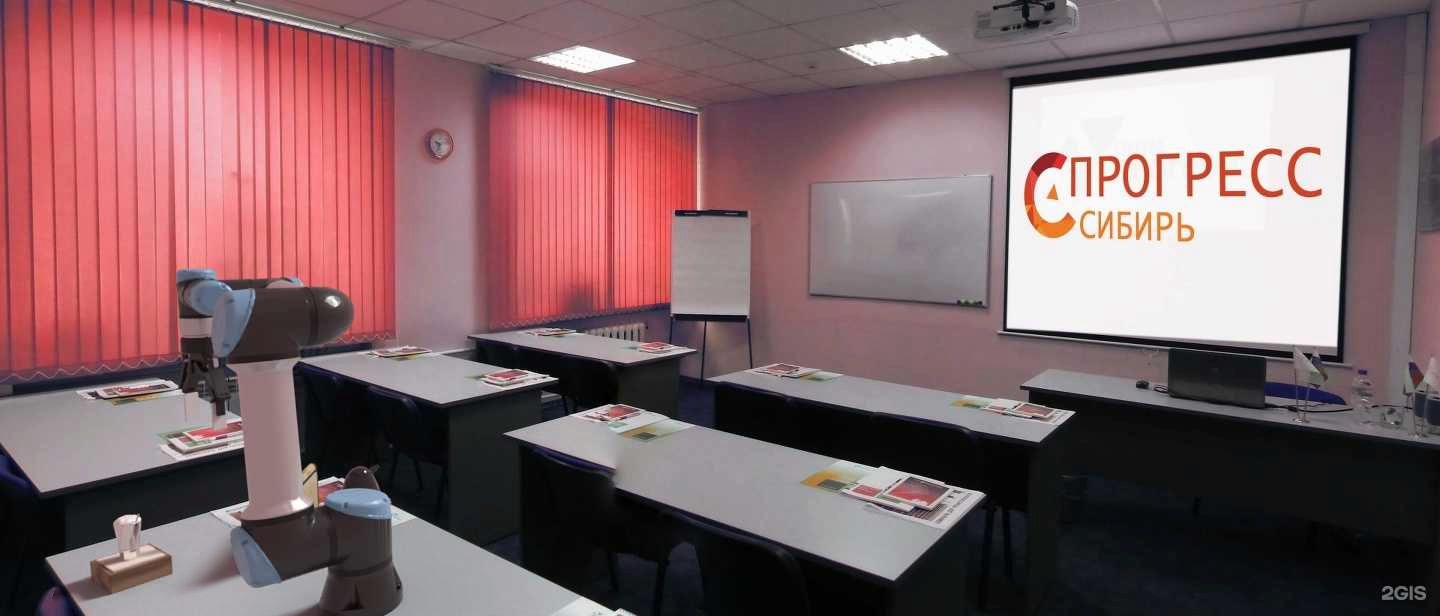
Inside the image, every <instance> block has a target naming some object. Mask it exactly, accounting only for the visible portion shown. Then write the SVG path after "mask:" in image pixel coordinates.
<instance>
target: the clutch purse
mask: <svg viewBox="0 0 1440 616" xmlns="http://www.w3.org/2000/svg"><path fill="white" fill-rule="evenodd" d="M302 481H303V492H304V494H305V495H306V496H308V497H309V498H311V499H313V501H314V508H315V507H319V506H320V496H319V473H318V467H317V465H316V464H315V463H313V462H310V463H308V465H307V466H306V467H305V468H304V469H303V470H302Z"/></svg>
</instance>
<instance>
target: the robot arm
mask: <svg viewBox="0 0 1440 616" xmlns="http://www.w3.org/2000/svg"><path fill="white" fill-rule="evenodd" d="M175 275H176V276H175V278H176V280H175V281H176V282H175V287H176V297H177V306H178V308H177V309H178V318H177V319H178V330H179V332H178V334H179V335H181V337H180V338H179V341H180V342H179V344H180V352H181V356H182V357H181V358H182V359H181V361H182V363H181V368H180V374H179V379H178V385H177V388H178V390H181V393H182V394H183V403H184V404H183V406H184V407H183V408H184V421H186V422H189V421H194V420H199V419H201V418H200V402H199V391H200V390H199V387H198V386H199V383H200V380H202V379H203V381H204V384H205V386H206V388H207V390H208V393H209V395H210V397H211V399H210V400H209V404H210V410H211V412H210V414H211V426H212V427H211V428H212V431H218V430H225V429H228V418H227V404H226V402H227V401H228V400H230V399H232V398H231V397H232V395H231V392H230V389H229V384H228V382H227V378H226V374H225V372H224V369H223V368H224V367H223V361H222V358H224V357H225V366H226V367H227V368H229V369H230V370H231V371H233V372H235V374H236V375H237V385H238V386H237V387H238V394H239V397H238V398H239V407H240V417H241V418H240V419H241V431H242V439H243V440H242V441H243V452H244V461H245V472H246V483H247V493H248V505H247V506H246V507H245V509H243V511H242V512H241V513H240V515H239V516H240V517H239V518H240V525H237V526H235V527H233V528H232V529H231V531H229V533H230V534H229V536H230V538H229V541H230V546H231V551H232V554H233V558H234V561H235V564H236V566H237V569H238V571H239V573H240V576H241V578H242V579H243V581H244V582H245V583H246V584H247V585H248V586H249V587H251V588H255V589H260V588H264V587H267V586H271V585H275V584H278V585H279V584H282V583H283V582H286V581H288V580H291V579H295V578H298V577H301V576H304V575H307V574H310V573H314V572H316V571H319V570H323V569H326V568H327V575H326V578H325V581H324V585H323V588H322V592H321V595H320V598H319V600H318V601H319V602H318V606H319V616H385V615H386V614H388V613H390V612H391V611H392V610H394V609H395V608H397V607H398V606H399V605H400V603H402V601H403V598H404V585H403V582H402V580H401V578H400V575H399V573H398V571H397V568H396V566H395V563H394V562H393V531H392V530H393V529H392V527H393V526H392V524H393V523H392V521H393V520H392V517H393V513H392V508H391V500H390V498H389V497H388V495H387V494H386V493H385V492H382V491H381V490H380V491H377V490H373V489H363V488H355V489H344V490H341V489H339V490H335V491H333V492H332V491H331V493H328V494H327V495H326V496H325V497H324V500H323V505H319V507H315V508H314V501H313V499H311V498H309V497H308V496H306V495H305V494H304V492H303V481H302V471H303V470H302V461H301V450H300V440H299V429H298V418H297V417H298V416H297V408H296V407H297V405H296V396H295V387H294V385H295V384H294V374H293V368H294V366H295V365H296V364H297V363H298V362H299V361H300V360H301V358H302V356H301V349H304V348H305V349H306V348H312V347H319V346H323V345H327V344H330V343H332V342H334V341H336V340H338V339H339V338H341V337H342V336H343V335H344V334H345V333H347V332H348V331H349V329H350V328H351V326H352V325H353V324H354V319H355V316H356V315H355V312H356V310H355V307H354V303H353V301H352V300H351V298H350V297H349V296H348V295H347V294H346V293H344V292H343V291H341V290H339V289H337V288H333V287H330V286H306V285H304V284H303V282H302V281H301V279H300V278H298V277H287V276H282V277H281V276H280V277H268V278H267V277H266V278H235V279H232V278H231V279H230V278H229V279H218V277H217V272H216V270H214V269H213V268H203V267H202V268H201V267H200V268H197V267H196V268H182V269H178V270H177V271H176V274H175ZM214 355H216V356H217V357H214Z"/></svg>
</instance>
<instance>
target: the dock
mask: <svg viewBox="0 0 1440 616" xmlns="http://www.w3.org/2000/svg"><path fill="white" fill-rule="evenodd" d="M89 566H90V577H91V580H92V581H93V582H95V583H96V584H97V585H99V586H100V587H102V588H103V589H105V590H106V591H107V592H108V593H111V594H112V595H113V594H117V593H119V592H122V591H125V590H128V589H131V588H133V587H137V586H139V585H143V584H145V583H149V582H150V581H154V580H156V579H160V578H163V577H165V576H169V575H171V574H173V573H174V571H173V569H174V568H173V557H172V555H171V554H169V553H167V552H166V551H164V550H162V549H160V548H159V547H157V546H155V545H153V544H152V543H150V542H149V543H145V544H142V545H140V556H138V557H137V558H135V559H132V560H126V561H124V560H121V559H120V553H119V552H117V553H113V554H109V555H106V556H102V557H99V558H96V559H94V560H90V561H89Z"/></svg>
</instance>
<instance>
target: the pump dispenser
mask: <svg viewBox="0 0 1440 616" xmlns="http://www.w3.org/2000/svg"><path fill="white" fill-rule="evenodd" d="M378 469H380V465H379V464H376V465H374V466H373V467H371V468H369V469H368V468H367V467H365V466H356V467H354V468H352V469H350V470H349V472H348V473H347V475H346V476H345V478H344V481H343V483H342V486H341V489H340V490H344V489H355V488H363V489H373V490H377V491H380V492H381V490H380V489H381V488H380V487H379V484H378V482H377V480H376V478H375V476H374V473H375V472H376V471H378Z"/></svg>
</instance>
